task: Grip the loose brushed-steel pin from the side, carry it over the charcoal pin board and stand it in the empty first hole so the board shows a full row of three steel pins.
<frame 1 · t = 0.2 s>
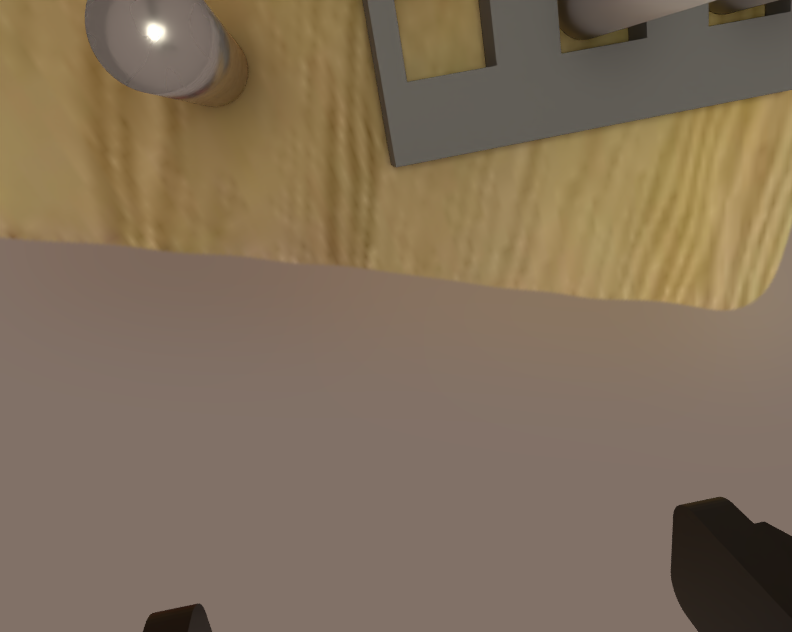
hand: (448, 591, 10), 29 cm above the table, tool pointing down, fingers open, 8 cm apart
steel pin: (211, 68, 33), on the table
pin board: (585, 2, 35), on the table
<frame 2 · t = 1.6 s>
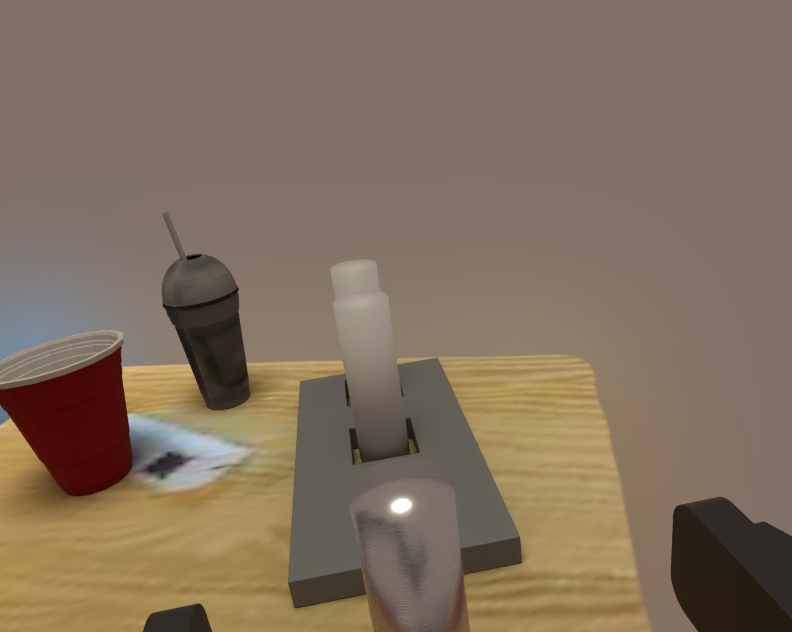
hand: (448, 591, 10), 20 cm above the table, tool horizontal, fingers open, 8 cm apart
beverage cup: (228, 400, 62), on the table
plastic cup: (98, 475, 52), on the table
pin board: (386, 460, 48), on the table
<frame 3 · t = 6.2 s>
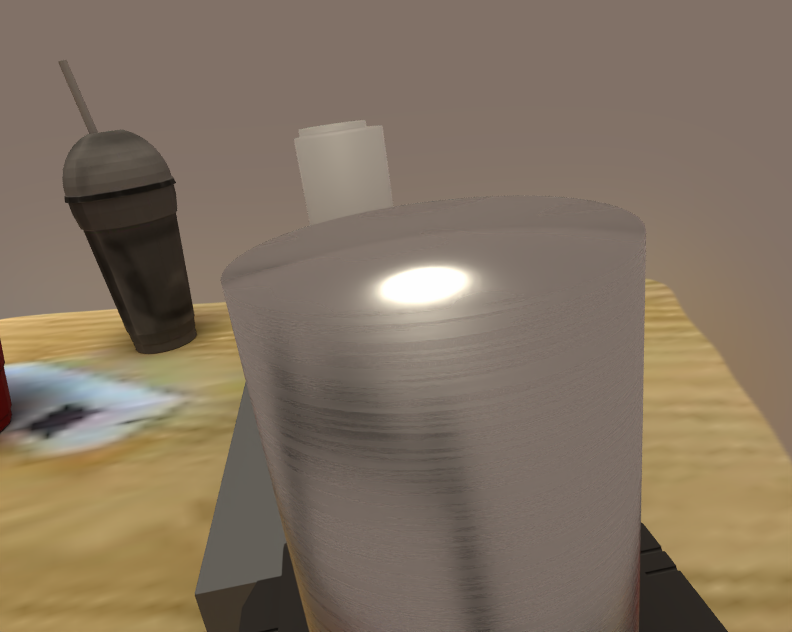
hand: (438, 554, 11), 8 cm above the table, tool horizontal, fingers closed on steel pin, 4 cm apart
beverage cup: (167, 343, 45), on the table
pin board: (382, 405, 31), on the table
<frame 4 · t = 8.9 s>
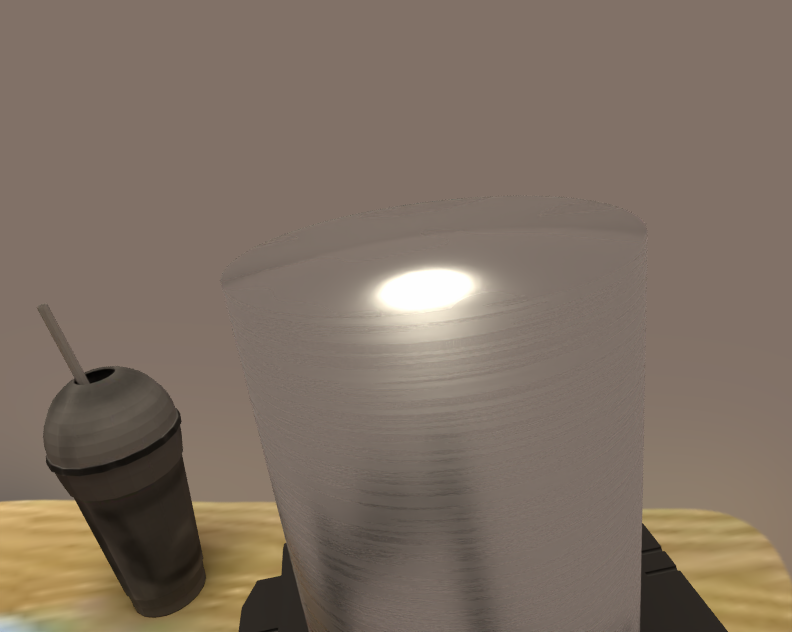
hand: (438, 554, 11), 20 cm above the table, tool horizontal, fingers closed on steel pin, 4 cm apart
beverage cup: (171, 590, 38), on the table
when the fingers open (9 cm above the table, at t = 12.0 s): steel pin drops 1 cm, resting in pin board.
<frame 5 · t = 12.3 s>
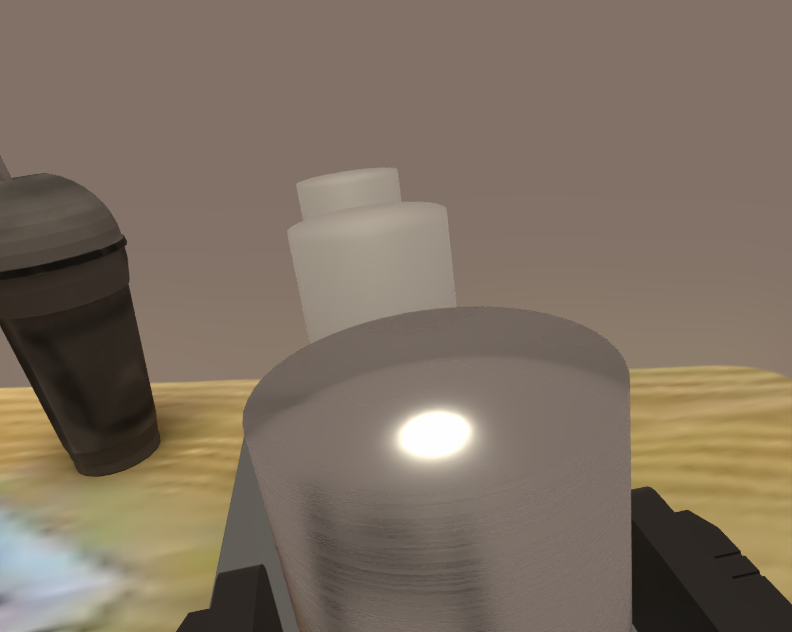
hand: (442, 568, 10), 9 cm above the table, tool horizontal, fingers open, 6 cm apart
beverage cup: (120, 454, 33), on the table
pin board: (430, 630, 20), on the table
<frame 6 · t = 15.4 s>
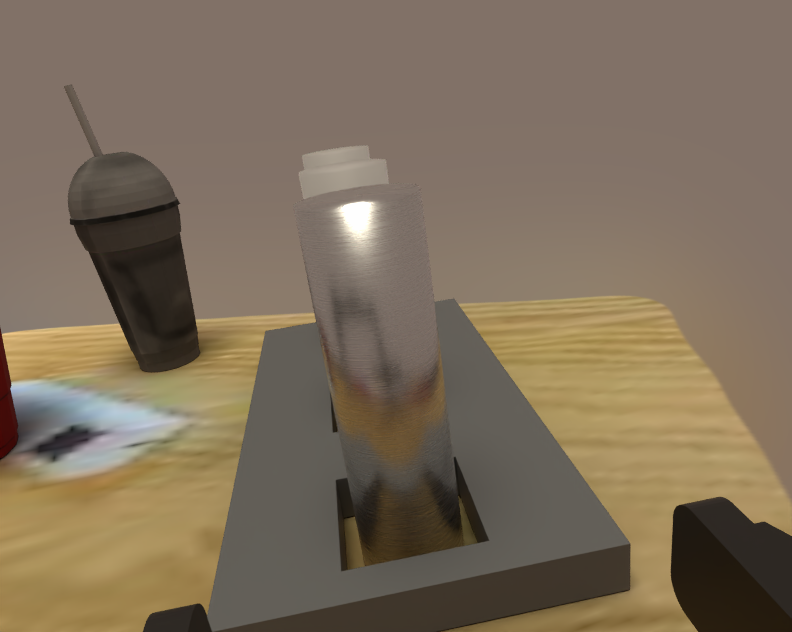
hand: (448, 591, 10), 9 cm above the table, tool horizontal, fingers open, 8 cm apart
beverage cup: (171, 361, 46), on the table
steel pin: (413, 549, 23), resting in pin board
pin board: (385, 430, 32), on the table
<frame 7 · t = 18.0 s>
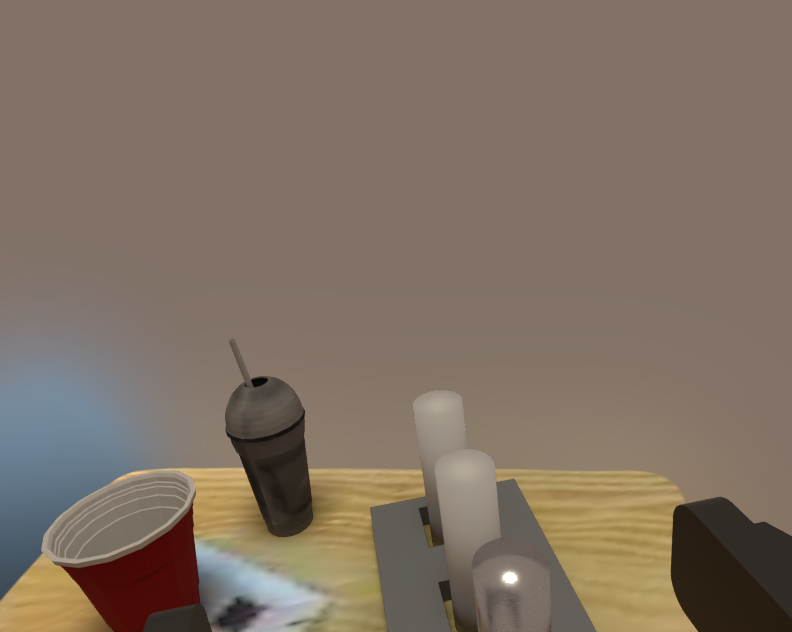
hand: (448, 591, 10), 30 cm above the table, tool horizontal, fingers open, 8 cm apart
beverage cup: (290, 522, 58), on the table
plastic cup: (164, 628, 48), on the table
pin board: (481, 621, 44), on the table
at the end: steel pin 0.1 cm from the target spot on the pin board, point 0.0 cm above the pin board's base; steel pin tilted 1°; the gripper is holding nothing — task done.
